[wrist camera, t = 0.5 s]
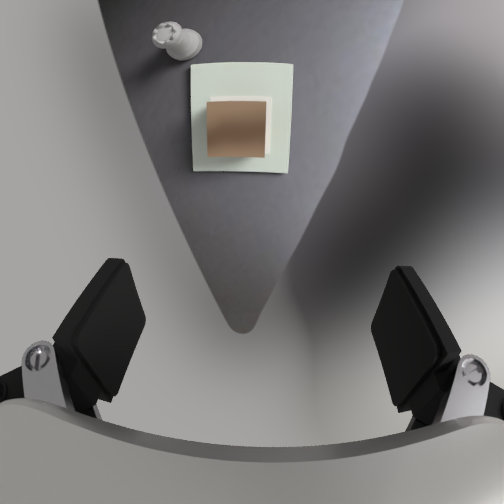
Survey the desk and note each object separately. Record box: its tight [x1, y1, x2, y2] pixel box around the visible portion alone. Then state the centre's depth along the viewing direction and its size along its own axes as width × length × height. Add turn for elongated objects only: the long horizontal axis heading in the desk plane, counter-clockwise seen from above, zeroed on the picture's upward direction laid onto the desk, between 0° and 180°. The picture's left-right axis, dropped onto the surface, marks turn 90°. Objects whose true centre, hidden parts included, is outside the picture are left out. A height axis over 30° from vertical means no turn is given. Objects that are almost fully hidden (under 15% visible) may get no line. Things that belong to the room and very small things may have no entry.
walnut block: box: [207, 101, 266, 158], centre depth 28 cm, size 6×6×5 cm
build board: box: [191, 62, 293, 173], centre depth 30 cm, size 14×12×1 cm
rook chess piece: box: [152, 21, 202, 61], centre depth 22 cm, size 4×4×8 cm
